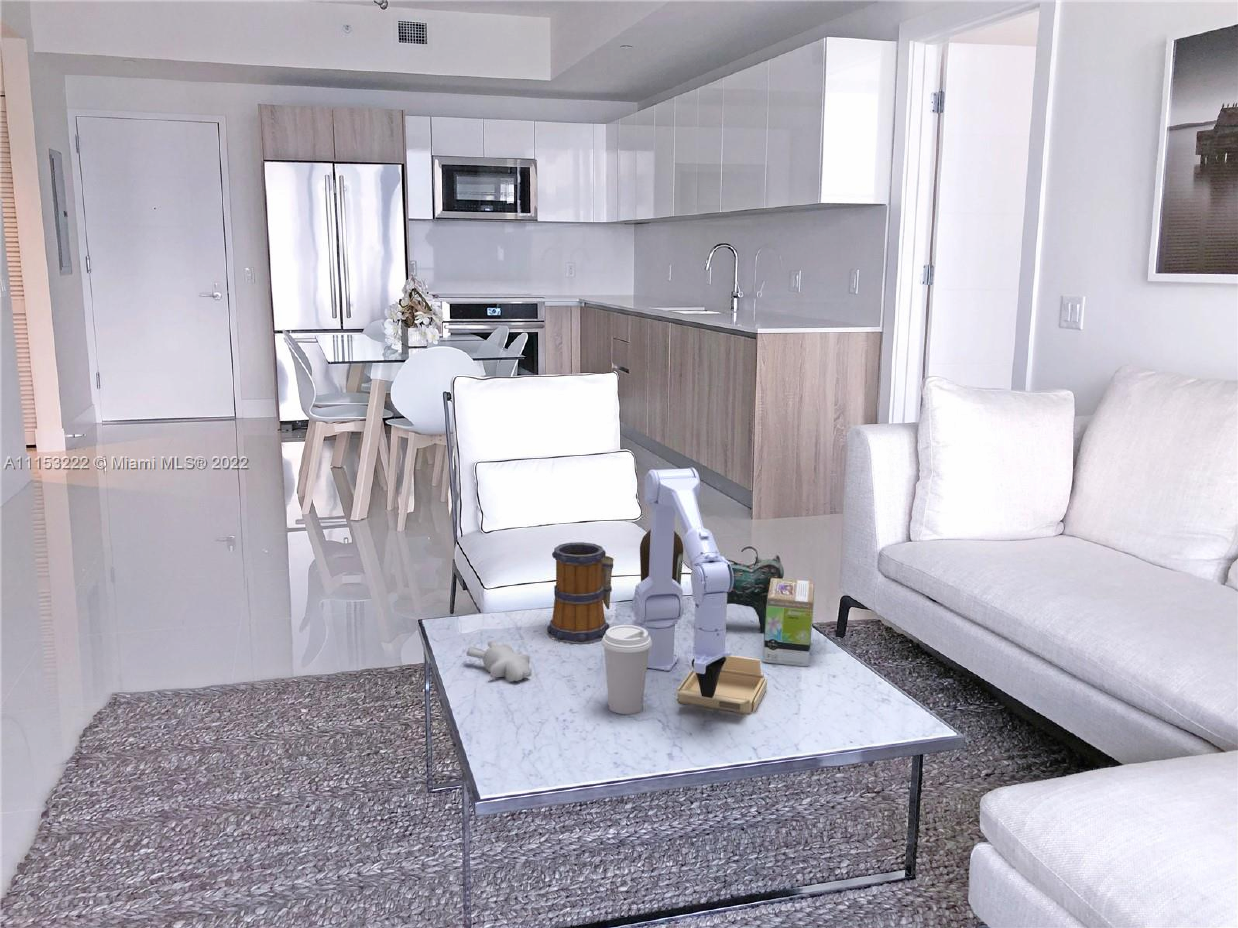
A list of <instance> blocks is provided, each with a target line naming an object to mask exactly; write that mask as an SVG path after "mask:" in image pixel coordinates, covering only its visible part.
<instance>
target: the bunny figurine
mask: <svg viewBox="0 0 1238 928" xmlns="http://www.w3.org/2000/svg"><path fill="white" fill-rule="evenodd" d="M487 646H488V648H487V649H486V651H485V650H483V649H481V648H477V647H475V646H474V647H473V646H471V647H468V649H467V650H466V652H465V653H466V656H468V657H471V658H477V659H482V661H483V665H484V668H485V670H486V671H488V673H489V677H491V678H504V679H505V681H506V682H508V683H513V682H519V681H521V680H523V679H526V678H529V677H532V674H533V673H532V670H533V669H532V668H531V667H530V660H531V659H530V657H531V656H529V655H528V654H524V653H516V652H515V650H514V649H513V647H511V646H510V645H508V644H506V643H504V644H499V643H498V641H497V640H490V641H488V643H487Z"/></svg>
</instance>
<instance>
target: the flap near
mask: <svg viewBox="0 0 1238 928" xmlns="http://www.w3.org/2000/svg"><path fill="white" fill-rule="evenodd" d="M676 694H683V695H689V696H695V697H702V695H701V693H697V692H691V691H685V690H681V691H678V692H677V691H676ZM702 698H708V697H702ZM708 699H714V700H720V701H726V702H733V703H739V704H744V703H746V702H747V700H741V699H735V698H728V697H722V696H716V695H714V696H713V697H712V698H708Z"/></svg>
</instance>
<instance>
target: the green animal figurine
mask: <svg viewBox="0 0 1238 928" xmlns="http://www.w3.org/2000/svg"><path fill="white" fill-rule="evenodd" d="M747 549H751V550H753V551H754V552H755V553H756V556H755V562H754V563H752V564H748V565H747V564H744V563H739V562H737V561H735V560H731V559H727V558H725V559H726V560H727V561H728V562H729V563H730V562H731V563H730V564H731V568H732V571H733V578H734V582H733V588H732V590H731V591H730V592H726V593H727V605H731V604H732V605H738V606H743V607H747V608H748V607H750V608H752V609H753V610H754V611H755V614H756V615H757V617H758V623H759V634H765V621H766V606H767V598H768V592H769V586H770V580H771V578H778V579H784V576H785V575H784V574H785V571H784V570H785V569H784V567H783V566H784V565H782V562H781V556H779V555H778V554H776V555H775V557H774V558H772V559H769V558H767V559H761V558H760V557H759V555H758V551H757V549H756V548H754V546H746V547H743V548H742V550H741V551H740V552H741V553H743V552H744V551H745V550H747Z"/></svg>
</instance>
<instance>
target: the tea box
mask: <svg viewBox="0 0 1238 928" xmlns="http://www.w3.org/2000/svg"><path fill="white" fill-rule="evenodd" d="M814 598H815V581H812V580H811V581H810V580H803V579H802V580H800V579H799V580H797V579H786V578H783V579H778V578H771V580H770V586H769V592H768V598H767V606H766V621H765V633H764V638H763V639H764V642H763V654H762V662H763V663H768V664H777V665H786V666H798V667H809V664H810V654H811V642H812V635H813V634H812V633H813V631H812V630H813V618H814V617H813V616H814V603H815V601H814V600H815V599H814Z"/></svg>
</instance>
